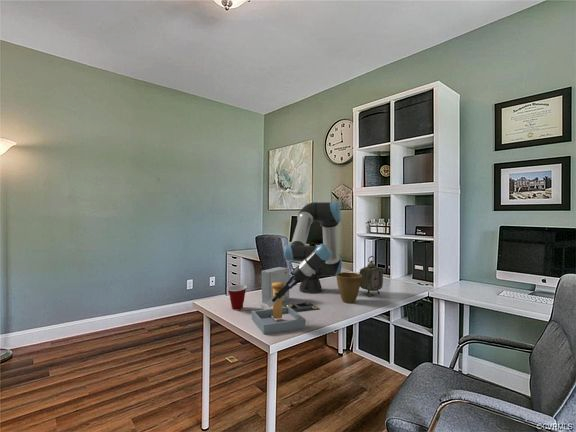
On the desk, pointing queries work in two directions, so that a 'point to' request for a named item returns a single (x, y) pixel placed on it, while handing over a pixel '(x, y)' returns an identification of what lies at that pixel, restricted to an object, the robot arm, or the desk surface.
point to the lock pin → (278, 305)
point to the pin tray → (271, 326)
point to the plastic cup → (237, 296)
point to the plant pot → (348, 286)
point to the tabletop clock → (371, 277)
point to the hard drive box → (272, 277)
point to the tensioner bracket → (302, 307)
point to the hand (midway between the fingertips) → (269, 303)
